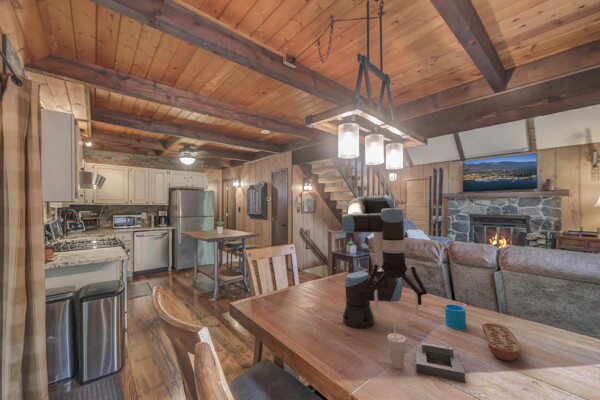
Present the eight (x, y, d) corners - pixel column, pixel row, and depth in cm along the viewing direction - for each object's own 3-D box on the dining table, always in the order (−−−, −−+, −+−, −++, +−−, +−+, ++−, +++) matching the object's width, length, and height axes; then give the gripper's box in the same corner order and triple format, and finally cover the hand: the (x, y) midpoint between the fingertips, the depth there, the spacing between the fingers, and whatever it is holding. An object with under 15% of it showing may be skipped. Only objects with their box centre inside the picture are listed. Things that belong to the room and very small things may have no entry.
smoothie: (385, 360, 94) (383, 321, 94) (402, 359, 94) (400, 320, 95) (393, 371, 87) (391, 330, 88) (411, 370, 88) (409, 328, 88)
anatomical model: (481, 333, 111) (480, 321, 112) (510, 338, 107) (509, 326, 107) (490, 362, 91) (489, 347, 91) (526, 369, 87) (525, 354, 87)
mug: (465, 331, 113) (464, 312, 114) (444, 326, 118) (443, 308, 118) (467, 321, 123) (466, 303, 123) (447, 317, 128) (447, 300, 128)
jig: (416, 372, 87) (415, 357, 87) (416, 355, 97) (415, 341, 97) (465, 382, 81) (464, 366, 81) (459, 363, 91) (459, 348, 91)
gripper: (356, 251, 94) (358, 310, 93) (433, 254, 84) (436, 320, 83) (360, 248, 101) (362, 303, 100) (431, 250, 91) (434, 311, 90)
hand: (396, 311), depth 91 cm, fingers open, 13 cm apart
